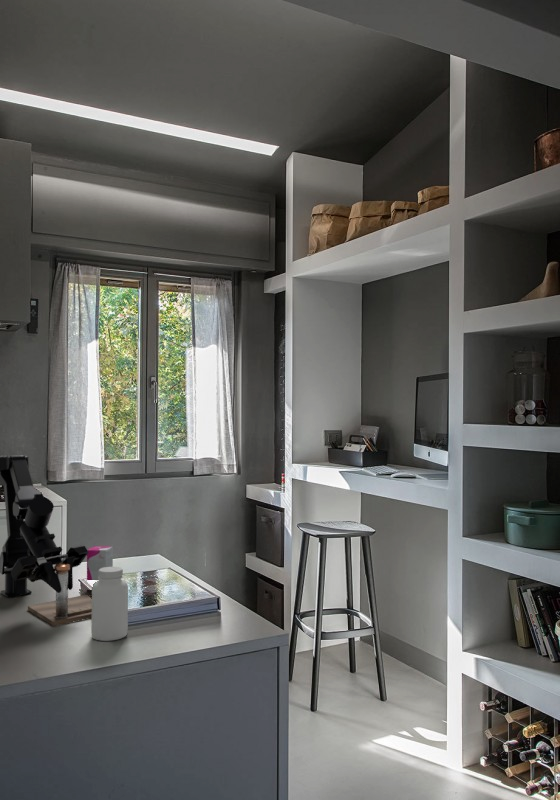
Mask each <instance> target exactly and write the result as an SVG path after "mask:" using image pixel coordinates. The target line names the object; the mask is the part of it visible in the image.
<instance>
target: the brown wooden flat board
mask: <svg viewBox="0 0 560 800" xmlns="http://www.w3.org/2000/svg"><path fill="white" fill-rule="evenodd" d="M88 595H89V594H83V595H78V596H72V597H68V616H67V618H62V619H58V620H57V619H56V618H55V617H56V600H52V601H45V602H42V603H37V604H31V605H28V606H27V611H29V612H30V613H32V614H33V615H35V616H37V617H38V618H40V619H41V620H43V621H44V622H46V623H48V624H49V625H51V626H53V627H56V626H62V625H66V624H70V623H69V622H71V623H74V622H73V621H76V622H79V621H78V620H80V621H83V620H82V619H85V620H88V619H87V618H89V619H92V599H91V598H90V597H89V596H90V595H89V596H88ZM65 623H66V624H65ZM61 624H62V625H61Z"/></svg>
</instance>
